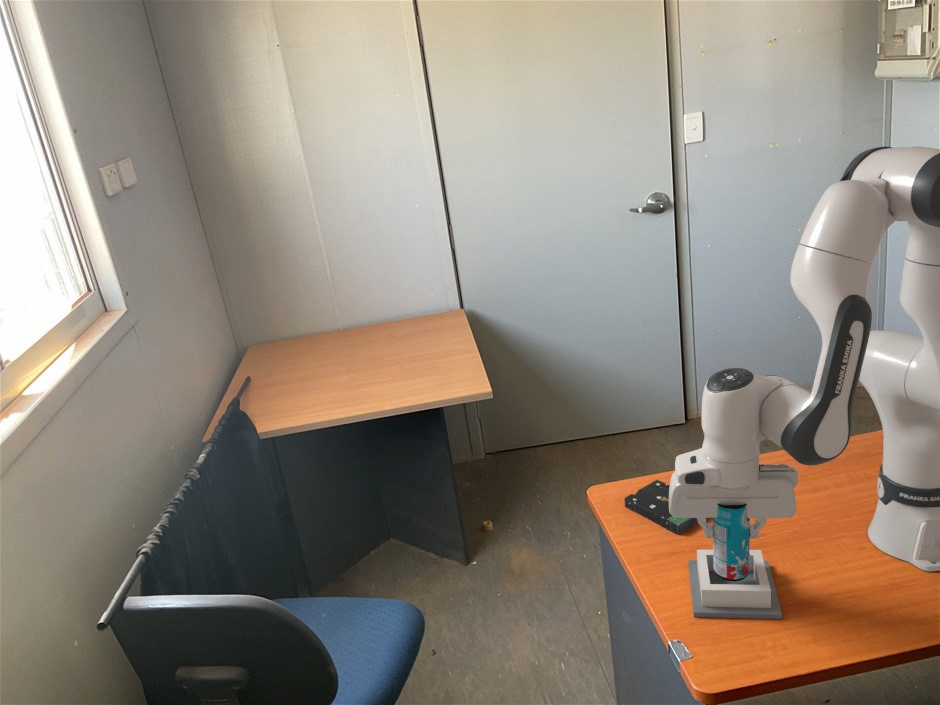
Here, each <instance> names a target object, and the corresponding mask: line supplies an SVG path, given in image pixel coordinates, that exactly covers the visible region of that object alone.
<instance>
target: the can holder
mask: <svg viewBox="0 0 940 705" xmlns="http://www.w3.org/2000/svg"><path fill="white" fill-rule="evenodd" d="M687 563H688V564H687V565H688V573H689V574H688V575H689V583H690V591H691V594H690V595H691V602H692V611H693V612H692V613H693V618H714V619H715V618H719V619H720V618H721V619H722V618H723V619H757V620H759V619H763V620H782V619H783V613H782V610H781V606H780V602H779V601H780V600H779V597H778V594H777V590H776V589H777V588H776V585H775V581H774V578H773V575H772V570H771V566H770V562H769V560H764V557H763V552H762V549H750V557H749V568H750V570H749V574H748V576H747V577H746V578H745V579H743V580H740V581H727V580H724V579H722V578H720V577H719V576H717V574H716V573H715V571H714V566H713V565H714V561H713V549H696V559H694V560H693V559H688V561H687Z"/></svg>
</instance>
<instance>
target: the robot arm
mask: <svg viewBox="0 0 940 705" xmlns="http://www.w3.org/2000/svg"><path fill="white" fill-rule="evenodd" d="M895 222H907V225H908V227H909V234H908V238H907V244H906V246H905V247H906V248H905V254H904V260H903V266H902V267H903V269H902V276H901V282H900V291H899V299H898V300H899V304H900V306H901V308H902V310H903V312H904V313H906V315H907V316H908V317H910V318H911V319H912V320H913V321H914V322H915V324H916V325H917V326H918V329H919V330H920V332H921V335H922V336H919V335H915V334H912V333H911V334H910V333H908V332H903V331H900V330H899V331H895V330H878V329H877V330H875V329H874V330H871V328H872V319H873V318H872V316H873V314H872V308H871V306H870V303H869V294H868V293H869V284H870V278H871V276H872V271H873V268H874V265H875V263H876V260H877V256H878V254H879V250H880V247H881V244H882V241H883V237H884V234H885V233H886V232H887V230H888V229H889V227H890V228H891V226H892V225H893V224H894V223H895ZM798 243H799V244H798V246H797V248H796V251H795V253H794V256H793V260H792V264H791V267H790V276H789V277H790V278H789V281H790V285H791V288H792V290H793V293H794V294H795V297H796V299H797V300H798V301H799V302H800V303H801V304H802V305H803V307H804V308H805V309H806V310H807V311H808V312H809V314H810V315H811V317H812V318H813V320H814V321H815V323H816V325H817V327H818V329H819V331H820V335H821V342H822V343H821V350H820V355H819V359H818V363H817V368H816V372H815V377H814V381H813V384H812V389H811V391H808V390H806V389H804V388H803V387H801V386H800V385H798V384H796V383H795V382H793V381H791V380H789V379H786V378H785V377H783V376H779V375H776V374H775V375H774V374H771V375H770V374H769V375H758V374H756V373H754V372H752V371H750V370H749V369H747V368H742V367H731V368H725V369H721V370H719V371H716V372H715V373H713V374H711V376H710V377H709V378H708V379H707V381H706V383H705V385H704V387H703V392H702V398H701V429H702V431H703V435H704V438H703V442H702V447H699V448H698V449H694V450H692V451H687V452H685V453H681V454H679V455H677V456H676V457H675V463H674V471H673V472H672V475H671V477H670V481H669V485H670V487H669V512H670V514H671V515H672V516H673V517H675V518H697V521H698V524H699V526H700V527H701V529H702V530H703V535H704V536H703V537H704V538H705V539H706V538H707V539H709V538H710V539H713V523H707V519H711V518H712V519H713V518H717V516H718V507H719V506H718V504H720V505H744V504H747V505H746V507H747V518H750V519H755V518H756V520H754V521H755V522H754V523H750V539H759V538H760V531H761V530H762V528H763V527H764V526H765V525H766V524H767V519H791V518H792V517H794V516H795V515H796V513H797V497H796V492H795V488H796V487H797V486H798V483H799V473H798V470H796V469H795V468H794V467H792V466H790V465H788V464H787V463H786V464H785V463H780V464H769V463H767V464H765V463H763V464H762V463H761V464H760V445H761V442H762V441H765V440H770V441H771V442H772V443H775V445H777V446H778V447H780V448H782V449H783V450H784V452H786V453H787V454H788V455H789V456H790V457H792V459H793V460H795V461H796V462H797V463H799V464H801V465H804V466H818V465H823V464H826V463H829V462H830V461H831V462H832V461H833V460H835V459H837V458H838V457H839V456H841V454H842V453H843V452H844V451H845V450H846V448H847V447H848V444H849V442H850V438H851V434H852V426H853V425H852V421H853V408H854V402H855V398H856V395H857V394H856V393H857V388H858V386H859V383H860V384H861V385H862V386H863V387H864V389H865V390H866V391H867V393H868V395H869V396H870V398H871V399H872V401H873V404H874V406H875V409H876V411H877V413H878V416H879V419H880V422H881V426H882V436H883V443H882V444H883V445H882V446H883V447H882V448H883V449H882V452H883V454H882V463H881V465H880V466H879V473H878V477H877V487H876V488H877V491H876V492H877V496H878V500H877V504H876V508H875V511H874V515H873V516H872V517H873V518H872V520H871V521H870V524H869V526H868V528H867V535H868V538H869V540H870V542H871V543H872V544H873V545H874V546H875V547H876V548H878V549H879V550H880V551H882V552H883V553H885V554H887V555H889V556H891V557H894V558H897V559H899V560H902V561H904V562H908V563H910V564H911V565H912V566H913V565H914V566H915V567H917V568H919V569H920V570H922V571H926V572H939V571H940V148H939V149H938V148H933V147H928V146H927V147H926V146H911V147H910V146H908V147H904V146H903V147H899V146H898V147H892V146H878V147H873V148H869V149H867V150H863V151H861V152H860V153H859V154H857V155H856V156H855V157H854V158H853V159H852V160H851V161H850V163H849V164H848V166H847V167H846V169H845V170H844V172H843V174H842V177H841V178H840V180H839V181H838V182H835V183H833V184H831V185H829V187H827V188H826V189H825V190H824V191H823V193H822V195H821V197H820V199H819V200H818V202H816V205H815V207H814V209H813V211H812V213H811V215H810V217H809V219H808V221H807V224H806V226H805V227H804V230H803V232H802V235H801V238H800V240H799V242H798Z"/></svg>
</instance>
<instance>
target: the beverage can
mask: <svg viewBox="0 0 940 705" xmlns="http://www.w3.org/2000/svg"><path fill="white" fill-rule="evenodd" d="M746 505H747V504H744V505H720V504H718V506H719V507H718V516H717V518H712V525H713V538H712V550H713V561H714V565H713V566H714V571H715V573H716V574H717V576H719V577H720V578H722V579H724V580H727V581H740V580H743V579H745V578H746V577H747V576H748V574H749V570H750V568H749V557H750V550H751V549H750V540H751V538H750V524H751V522H750V521H751V520H750V519H751V518H747V507H746Z"/></svg>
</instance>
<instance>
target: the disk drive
mask: <svg viewBox="0 0 940 705" xmlns="http://www.w3.org/2000/svg"><path fill="white" fill-rule="evenodd" d="M669 487H670V484H668V483H666V482H664V481H661V480H659V479H655V480H653V481H652V482H650V483H649V484H646V485H645V486H643V487H641V488H639V489H637V492H635V494H633V493H631V494H629V495H627V496H625V497H624V508H627V509H628V510H630V511H631V512H633V513H636V514H638V515H640V516H641V517H644V518H645V519H647V520H648V521H651V522H652V523H654V524H657V525H658V526H660V527H662V528H664V529H666V530H667V531H669V532H671V533H673V534H675V535H676V536H680V535H681V534H683V533H685V532H687V531H688V530H690V529H692V528H693V527H695V526H696V525H697V524H699V523H698V521H697V518H675V517H673V516H672V515H671V514H670V512H669Z"/></svg>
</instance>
